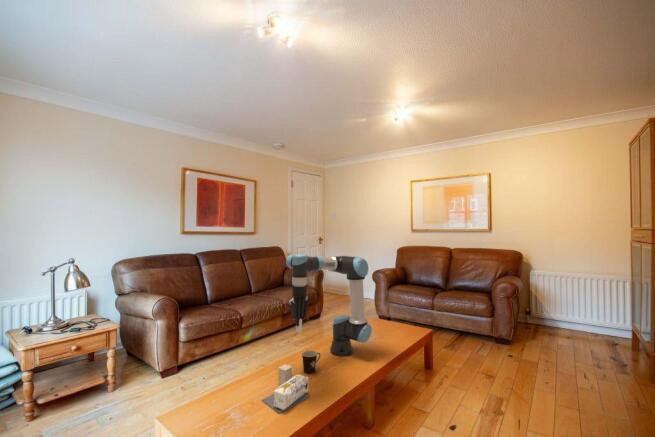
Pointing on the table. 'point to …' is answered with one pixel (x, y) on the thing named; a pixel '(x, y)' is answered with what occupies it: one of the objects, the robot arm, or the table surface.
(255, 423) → the table surface
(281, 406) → the juice carton
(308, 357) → the coffee mug
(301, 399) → the mat
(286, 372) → the sandstone block
